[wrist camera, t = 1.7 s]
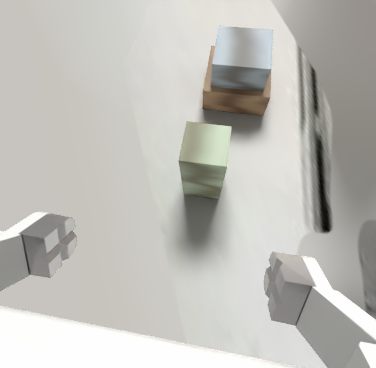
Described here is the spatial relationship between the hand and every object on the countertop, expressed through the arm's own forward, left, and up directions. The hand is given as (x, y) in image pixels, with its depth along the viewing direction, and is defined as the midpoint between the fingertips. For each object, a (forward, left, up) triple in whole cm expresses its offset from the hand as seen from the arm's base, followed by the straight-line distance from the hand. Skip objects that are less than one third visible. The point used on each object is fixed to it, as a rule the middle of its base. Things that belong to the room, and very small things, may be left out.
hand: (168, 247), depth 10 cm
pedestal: (-3, -30, -21) cm, 37 cm away
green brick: (0, -12, -21) cm, 25 cm away
